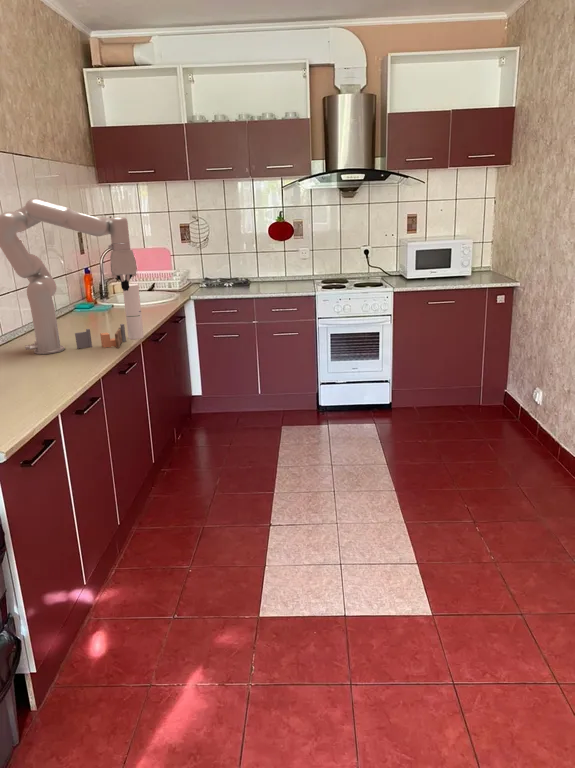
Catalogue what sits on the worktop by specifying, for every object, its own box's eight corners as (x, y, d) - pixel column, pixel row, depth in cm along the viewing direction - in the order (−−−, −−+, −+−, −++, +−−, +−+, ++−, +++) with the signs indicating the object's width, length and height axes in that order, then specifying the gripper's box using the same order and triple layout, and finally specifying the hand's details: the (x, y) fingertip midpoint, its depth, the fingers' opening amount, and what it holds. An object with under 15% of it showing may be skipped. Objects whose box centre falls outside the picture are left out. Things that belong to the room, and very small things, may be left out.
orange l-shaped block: (104, 348, 261) (102, 335, 260) (101, 346, 265) (100, 333, 263) (117, 346, 264) (116, 333, 263) (115, 344, 268) (113, 331, 266)
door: (120, 341, 273) (118, 327, 271) (122, 340, 273) (120, 327, 271) (116, 347, 260) (114, 333, 258) (118, 347, 260) (117, 333, 258)
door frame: (78, 349, 261) (75, 331, 259) (76, 348, 262) (74, 330, 260) (126, 341, 273) (124, 324, 270) (124, 340, 274) (122, 323, 272)
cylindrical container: (146, 336, 282) (141, 283, 275) (139, 339, 276) (133, 286, 268) (133, 335, 284) (127, 283, 277) (125, 339, 278) (119, 285, 270)
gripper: (105, 248, 244) (110, 293, 250) (140, 246, 251) (145, 289, 257) (101, 248, 251) (106, 291, 256) (136, 245, 257) (140, 287, 263)
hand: (125, 290), depth 256 cm, fingers closed
